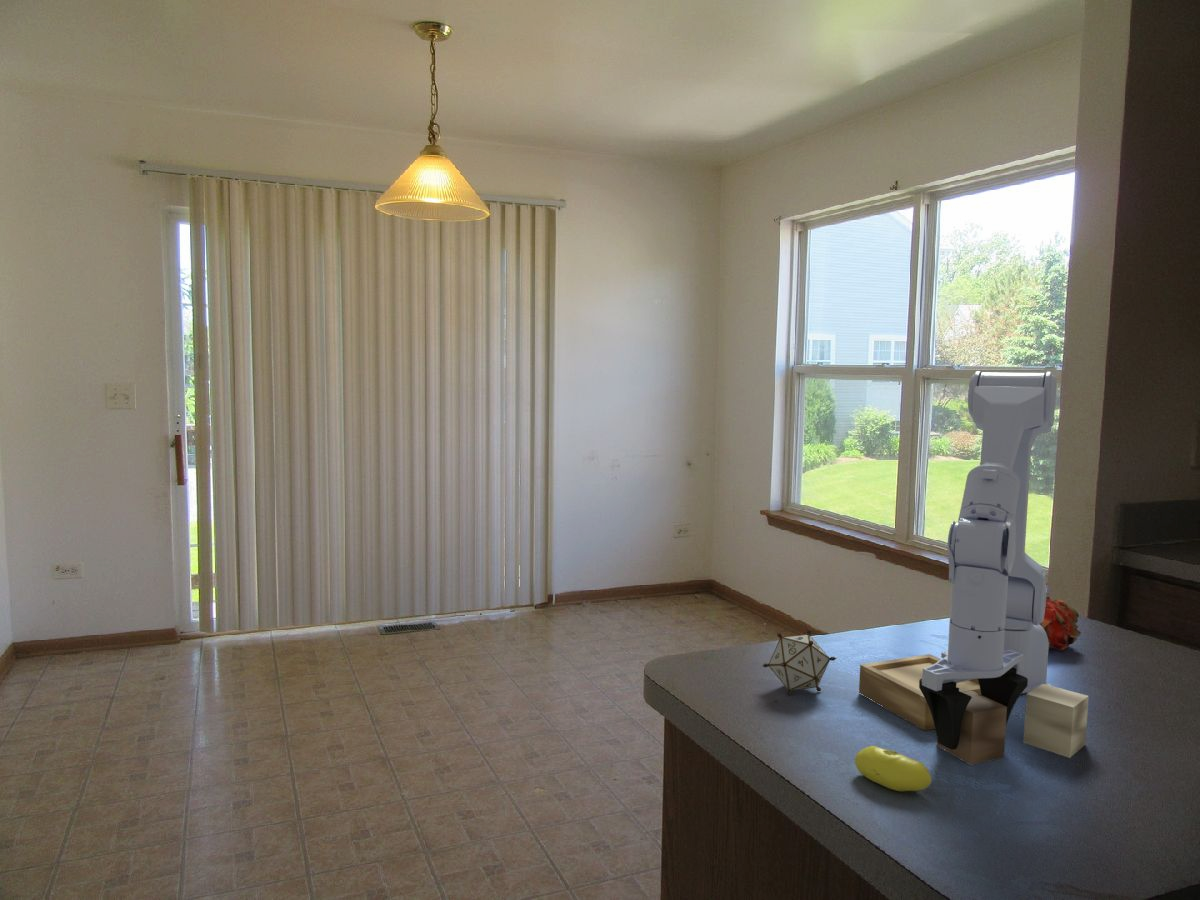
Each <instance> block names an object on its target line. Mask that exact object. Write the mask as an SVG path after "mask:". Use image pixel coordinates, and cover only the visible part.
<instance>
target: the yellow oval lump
mask: <svg viewBox="0 0 1200 900" xmlns="http://www.w3.org/2000/svg"><path fill="white" fill-rule="evenodd" d="M854 764H855V767H856V769H857V771H858V772H859V773H860V774H861V775H862V776H864V777H865V778H867V779H868V780H870V781H872V782H873V783H876V784H879V785H880V786H882V787H885V788H887V789H890V790H892V791H897V792H910V791H911V792H912V791H913V792H915V791H916V792H917V791H918V792H919V791H922V790H924V789H927V788H928V787H929V786H930V785H931V783H932V776H931V773H930V772H929V770H928V768H927V767H926V765H925V764H923V763H922V762H921V761H918V760H915V759H912V758H910V757H908V756H906V755H904V754H901V753H898V752H897V751H895V750H892V749H891V750H889V749H885V748H881V747H880V746H876V745H870V746H867V747H864V748H862V749H861V750H859V752H857V754H856V755H855V757H854Z"/></svg>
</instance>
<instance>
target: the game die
mask: <svg viewBox="0 0 1200 900" xmlns="http://www.w3.org/2000/svg"><path fill="white" fill-rule="evenodd" d="M811 630H812V629H811V628H809V629H807V631H806V634H805V633H804V634H797V635H788V636H783V635H782V634H781V632H778V631H777V632H776V636H777V637H778V638H779V640H778V642H777V644H776V646H775V648H774V651H773V653H772V655H771V658H770V660H769V662H768V663H766V662H765V663H763V664H762V665H761V666H762V667H764V668H768V667H769V669H770V670H771V671H772V672H773V673H774V675H775V676H776V677H777V678H778V679H779V680H780V681H781V684H783V685H784V687H785V688H786V689H787V691H786V692H785V694H786V697H787V696H788V697H789V696H791V692H794V691H798V690H799V691H800V690H807V689H814V688H816V689H815V690H816V691H817V692H819V691H822V688H821V687H820V686H819V685H820V682H821V680H822V678H823V676H824V674H825V672H826V669H827V668H828V665H829V663H830V662H832V661H835V660H836V659H837V657H835V656H830V657H829V656H828V655H827V654H826V652H825V651H824V650H823V649H822V648H821V646H820V645H819V644H818V643H817V642H816V641H815V640H814V638H813V637H812V636H811V633H812V631H811Z"/></svg>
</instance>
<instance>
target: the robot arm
mask: <svg viewBox="0 0 1200 900" xmlns="http://www.w3.org/2000/svg"><path fill="white" fill-rule="evenodd" d="M1056 400H1057V376H1056V375H1055V374H1054V373H1053V371H1046V372H995V371H994V372H993V371H992V372H988V371H987V372H984V371H983V372H982V371H981V370H977V371H975V373H974V374H972V375H971V377H970V380H969V384H968V392H967V409H968V413H969V415H970V417H971V419H972V421H973V423H974V424H975V426H976V429H978V430H979V431H982V437H981V438H982V439H981V450H980V464H979V465H978V466H976V467H975V466H974V468H972V469H971V470H969V472H968V474H967V476H966V481H965V485H964V491H963V495H962V500H961V506H960V510H959V513H958V514H959V515H958V520H957V521H955V520H953V521H951V524H950V526H949V531H948V535H947V536H948V537H947V546H946V548H947V558H948V559H947V560H948V582H949V583H951V589H950V606H949V607H950V608H949V609H950V610H949V624H948V625H949V627H948V644H947V645H948V647H947V650H943V651H941V653H940V655H941V656H940V657H941V658H940V659H941V660H940V661H938V662H937V663H935V664H934V665H932V666H930V667H927V668H923V671H922V678H921V679H920V680H919V688H920V690H921V692H922V693H923V695H924V697H925V699H926V701H927V703H928V706H929V708H930V711H931V714H932V718H933V721H934V726H935V729H934V731H935V734H936V741H937V740H938V743H939V744H941V745H943V746H945V747H947V748H949V749H951V750H954V749H957V746H958V743H959V738H960V731H961V723H962V719H963V715H964V713H965V710H966V707H967V705H968V703H969V702H970V700H971V698H972V697H971V696H969V695H967V694H965V693H962V692H960V691H959V688H956V683H960V682H964V681H968V680H973V679H978V681H979V685H980V691H981V695H982V696H985V697H987V698H989V699H991V700H993V701H995V702H997V703H1000V704H1002V705H1004V706H1006V707H1007V715H1006V725H1007V724H1008V721H1009V719H1010V716H1011V714H1012V711H1013V709H1014V706H1015V704H1016V702H1017V700H1019V697H1020V696H1021V694H1027V693H1029V692H1030V691H1032V690H1033V689H1035V688H1037V687H1038V686H1040V685H1041V684H1047V685H1050V686H1053V685H1052V684H1051V683H1048V682H1047V676H1048V675H1047V674H1048V662H1049V661H1048V660H1049V659H1048V658H1049V649H1048V648H1049V642H1048V637H1047V634H1046V632H1045V630H1044V629H1043V627H1042V626H1041V625H1040V623H1042V622H1043V620H1044V614H1045V605H1046V597H1047V583H1046V580H1047V573H1046V572H1045V569H1044V567H1043V566H1042V565H1041V564H1039V562H1037V561H1036V560H1035V559H1033V558H1032V557H1031V556H1029V555H1028V553H1026V538H1027V535H1026V534H1027V521H1028V505H1029V503H1028V502H1029V490H1030V489H1029V488H1030V473H1031V472H1030V471H1031V458H1032V457H1031V455H1032V447H1033V445H1034V443H1035V441H1036V438H1037V437H1038V436H1041V435H1043V434H1044V435H1045V434H1047V433H1050V432H1052V427H1053V426H1054V422H1055V413H1056V412H1055V410H1056V402H1057V401H1056Z"/></svg>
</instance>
